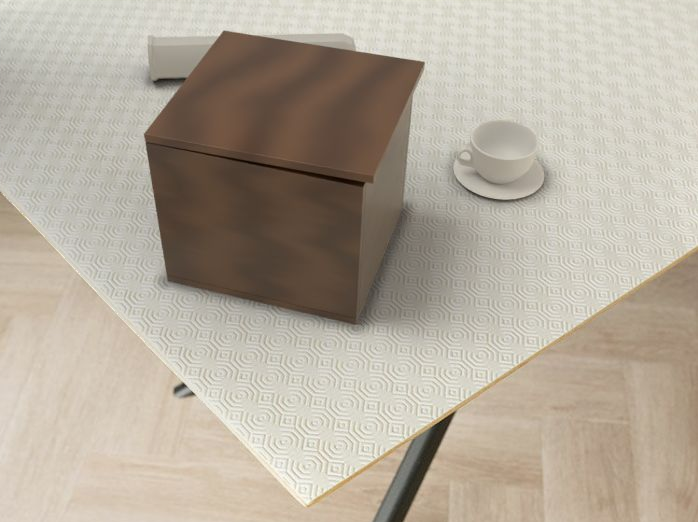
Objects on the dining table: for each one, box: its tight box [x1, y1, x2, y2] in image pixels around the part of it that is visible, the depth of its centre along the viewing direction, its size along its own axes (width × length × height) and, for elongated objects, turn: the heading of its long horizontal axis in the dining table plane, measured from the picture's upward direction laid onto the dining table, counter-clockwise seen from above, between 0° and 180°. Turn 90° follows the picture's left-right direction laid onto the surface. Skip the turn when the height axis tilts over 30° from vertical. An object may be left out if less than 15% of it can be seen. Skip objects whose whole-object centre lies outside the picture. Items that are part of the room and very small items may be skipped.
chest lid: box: [143, 30, 426, 184], centre depth 79 cm, size 20×18×1 cm
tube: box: [146, 32, 357, 82], centre depth 110 cm, size 5×5×25 cm
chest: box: [145, 95, 414, 326], centre depth 86 cm, size 19×18×16 cm
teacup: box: [452, 118, 545, 201], centre depth 98 cm, size 10×10×5 cm
